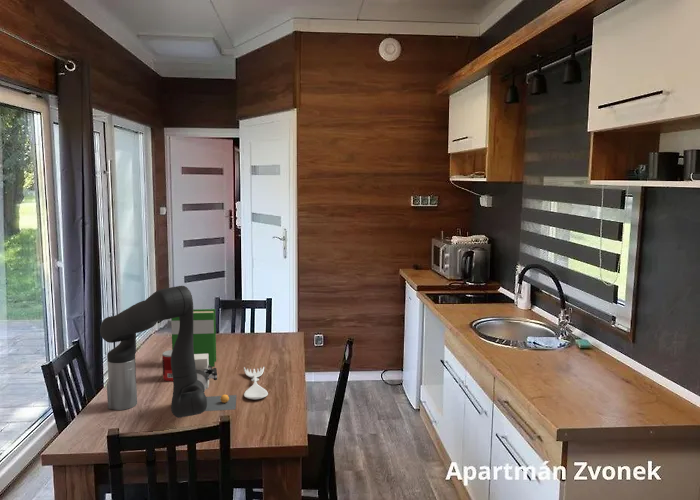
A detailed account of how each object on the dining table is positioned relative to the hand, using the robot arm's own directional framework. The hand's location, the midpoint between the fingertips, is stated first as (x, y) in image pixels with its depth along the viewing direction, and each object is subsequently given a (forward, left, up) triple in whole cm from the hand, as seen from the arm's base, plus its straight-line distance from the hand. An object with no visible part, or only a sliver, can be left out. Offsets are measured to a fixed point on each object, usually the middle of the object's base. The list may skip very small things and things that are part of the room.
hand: (199, 368), depth 199 cm
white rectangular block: (0, -2, -6) cm, 6 cm away
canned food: (-13, +27, -13) cm, 33 cm away
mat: (+4, -2, -13) cm, 14 cm away
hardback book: (-6, +43, -13) cm, 45 cm away
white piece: (+20, +13, -14) cm, 27 cm away
